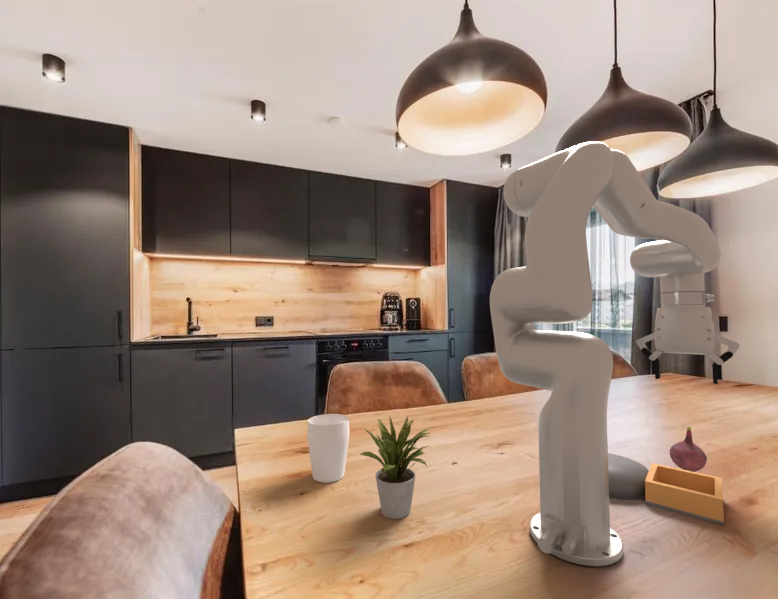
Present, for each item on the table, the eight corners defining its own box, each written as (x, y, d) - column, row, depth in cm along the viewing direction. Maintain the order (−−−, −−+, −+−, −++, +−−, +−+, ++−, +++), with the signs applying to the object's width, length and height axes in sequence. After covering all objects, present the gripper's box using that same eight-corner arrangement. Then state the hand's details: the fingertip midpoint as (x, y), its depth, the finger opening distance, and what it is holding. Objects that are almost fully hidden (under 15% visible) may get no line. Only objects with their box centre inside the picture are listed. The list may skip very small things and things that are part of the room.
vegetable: (711, 483, 74) (709, 433, 75) (673, 476, 77) (671, 428, 78) (703, 471, 80) (701, 425, 80) (668, 466, 83) (666, 421, 83)
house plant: (436, 544, 56) (434, 434, 56) (347, 535, 58) (346, 429, 58) (440, 497, 70) (438, 409, 70) (368, 491, 72) (367, 407, 73)
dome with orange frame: (724, 529, 58) (723, 504, 59) (560, 483, 75) (560, 463, 75) (722, 496, 69) (721, 474, 69) (579, 462, 85) (578, 444, 85)
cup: (337, 488, 73) (337, 427, 74) (298, 482, 76) (298, 423, 77) (356, 470, 82) (356, 415, 82) (321, 464, 85) (321, 412, 85)
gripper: (736, 299, 77) (740, 382, 76) (637, 302, 88) (639, 374, 88) (738, 299, 71) (742, 388, 71) (632, 301, 83) (634, 378, 82)
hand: (685, 380), depth 79 cm, fingers open, 9 cm apart
